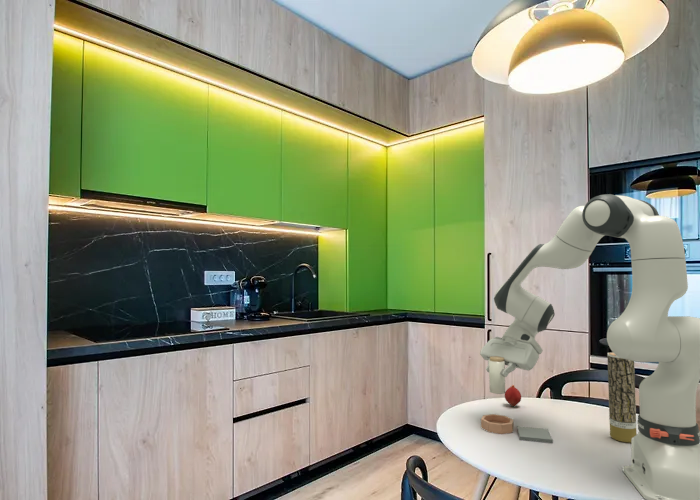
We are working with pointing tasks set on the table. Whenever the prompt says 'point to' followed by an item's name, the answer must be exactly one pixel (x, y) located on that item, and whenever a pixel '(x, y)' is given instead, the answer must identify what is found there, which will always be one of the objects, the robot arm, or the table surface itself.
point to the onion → (512, 396)
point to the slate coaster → (534, 434)
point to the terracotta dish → (497, 423)
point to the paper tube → (621, 398)
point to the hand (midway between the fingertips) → (495, 373)
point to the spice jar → (496, 375)
